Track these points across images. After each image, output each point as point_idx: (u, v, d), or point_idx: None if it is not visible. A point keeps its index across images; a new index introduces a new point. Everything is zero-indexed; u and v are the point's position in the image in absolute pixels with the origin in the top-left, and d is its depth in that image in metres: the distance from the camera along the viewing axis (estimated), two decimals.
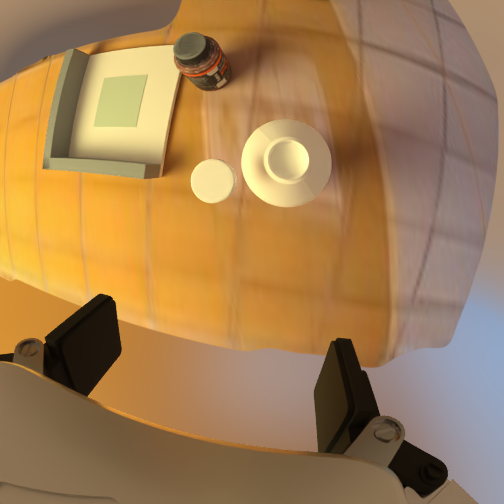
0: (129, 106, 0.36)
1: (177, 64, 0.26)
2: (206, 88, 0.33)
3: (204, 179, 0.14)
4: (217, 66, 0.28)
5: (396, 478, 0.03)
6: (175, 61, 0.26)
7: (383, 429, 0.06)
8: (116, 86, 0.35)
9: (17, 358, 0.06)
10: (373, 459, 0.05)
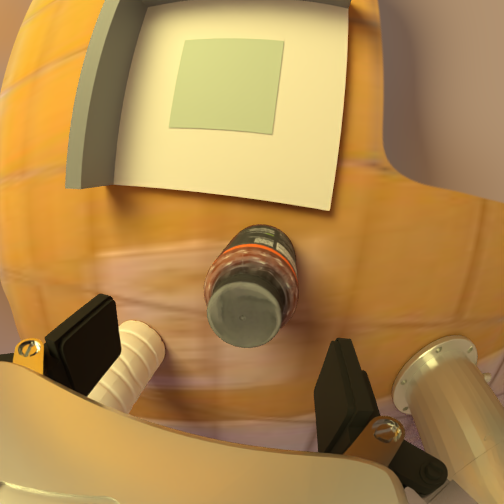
0: (209, 106, 0.21)
1: (220, 266, 0.16)
2: None
3: None
4: None
5: (396, 478, 0.03)
6: (231, 259, 0.16)
7: (383, 429, 0.06)
8: (259, 68, 0.19)
9: (17, 358, 0.06)
10: (373, 459, 0.05)
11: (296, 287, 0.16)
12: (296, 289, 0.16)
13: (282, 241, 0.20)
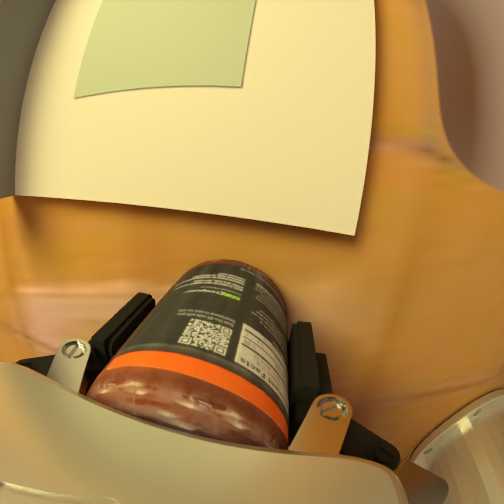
0: (132, 54, 0.09)
1: None
2: None
3: None
4: None
5: (396, 478, 0.03)
6: (110, 400, 0.05)
7: (328, 407, 0.07)
8: None
9: (63, 360, 0.06)
10: (313, 433, 0.06)
11: None
12: None
13: (258, 309, 0.09)
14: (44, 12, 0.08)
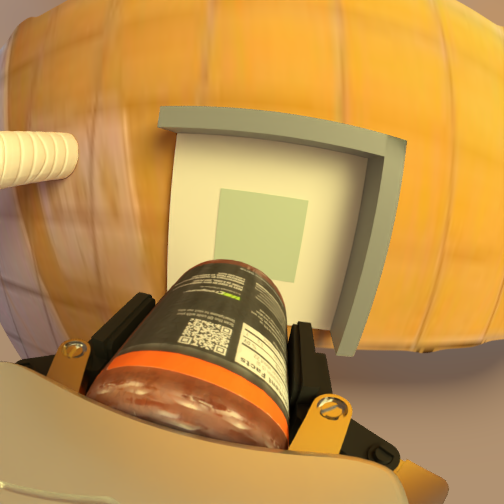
0: (235, 223, 0.29)
1: None
2: None
3: None
4: None
5: (396, 478, 0.03)
6: (110, 400, 0.05)
7: (328, 407, 0.07)
8: (267, 263, 0.30)
9: (63, 360, 0.06)
10: (313, 433, 0.06)
11: None
12: None
13: (258, 309, 0.09)
14: (303, 144, 0.25)
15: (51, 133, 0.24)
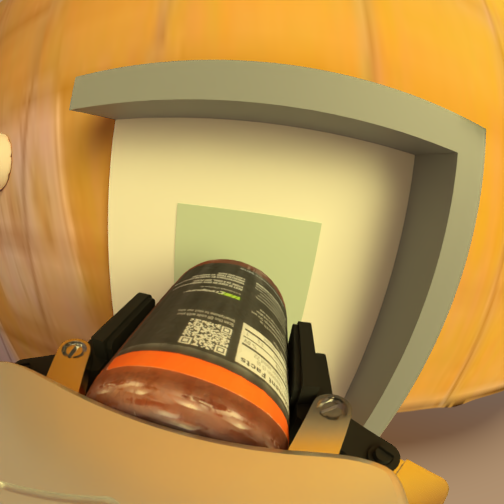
0: (202, 260, 0.18)
1: None
2: None
3: None
4: None
5: (396, 478, 0.03)
6: (110, 401, 0.05)
7: (328, 407, 0.07)
8: None
9: (63, 360, 0.06)
10: (313, 433, 0.06)
11: None
12: None
13: (258, 309, 0.09)
14: (314, 128, 0.14)
15: None
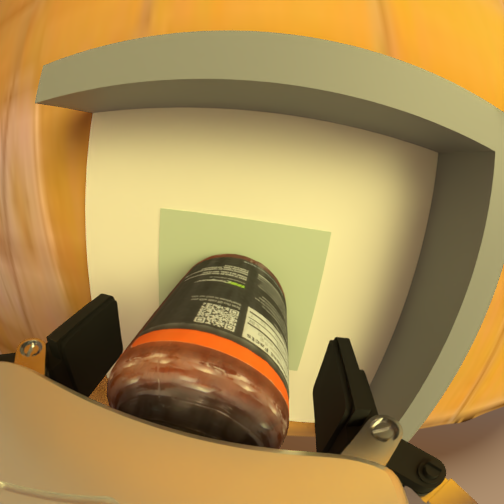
0: None
1: (120, 381, 0.06)
2: None
3: None
4: None
5: (396, 478, 0.03)
6: (136, 372, 0.06)
7: (381, 428, 0.06)
8: None
9: (19, 358, 0.06)
10: (371, 458, 0.05)
11: (284, 420, 0.07)
12: (284, 423, 0.06)
13: (261, 296, 0.11)
14: (322, 118, 0.12)
15: None
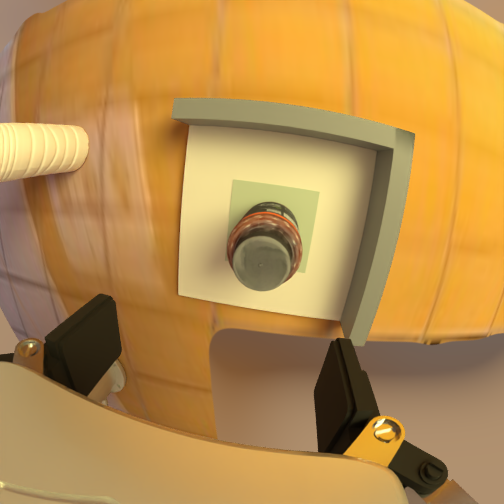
0: None
1: (241, 228, 0.20)
2: None
3: None
4: None
5: (396, 478, 0.03)
6: (249, 222, 0.20)
7: (383, 429, 0.06)
8: None
9: (17, 358, 0.06)
10: (373, 459, 0.05)
11: (300, 244, 0.20)
12: (300, 246, 0.20)
13: (287, 213, 0.24)
14: (314, 137, 0.25)
15: (61, 126, 0.25)
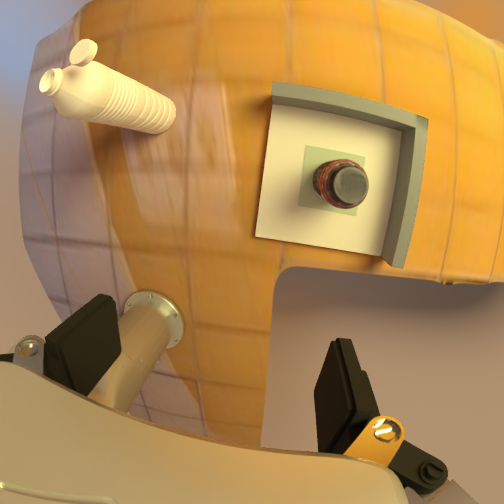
0: None
1: (332, 166, 0.29)
2: (313, 180, 0.36)
3: (83, 50, 0.14)
4: None
5: (396, 478, 0.03)
6: (338, 162, 0.29)
7: (383, 429, 0.06)
8: None
9: (17, 358, 0.06)
10: (373, 459, 0.05)
11: None
12: None
13: None
14: (362, 119, 0.34)
15: (156, 92, 0.33)
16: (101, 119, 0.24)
